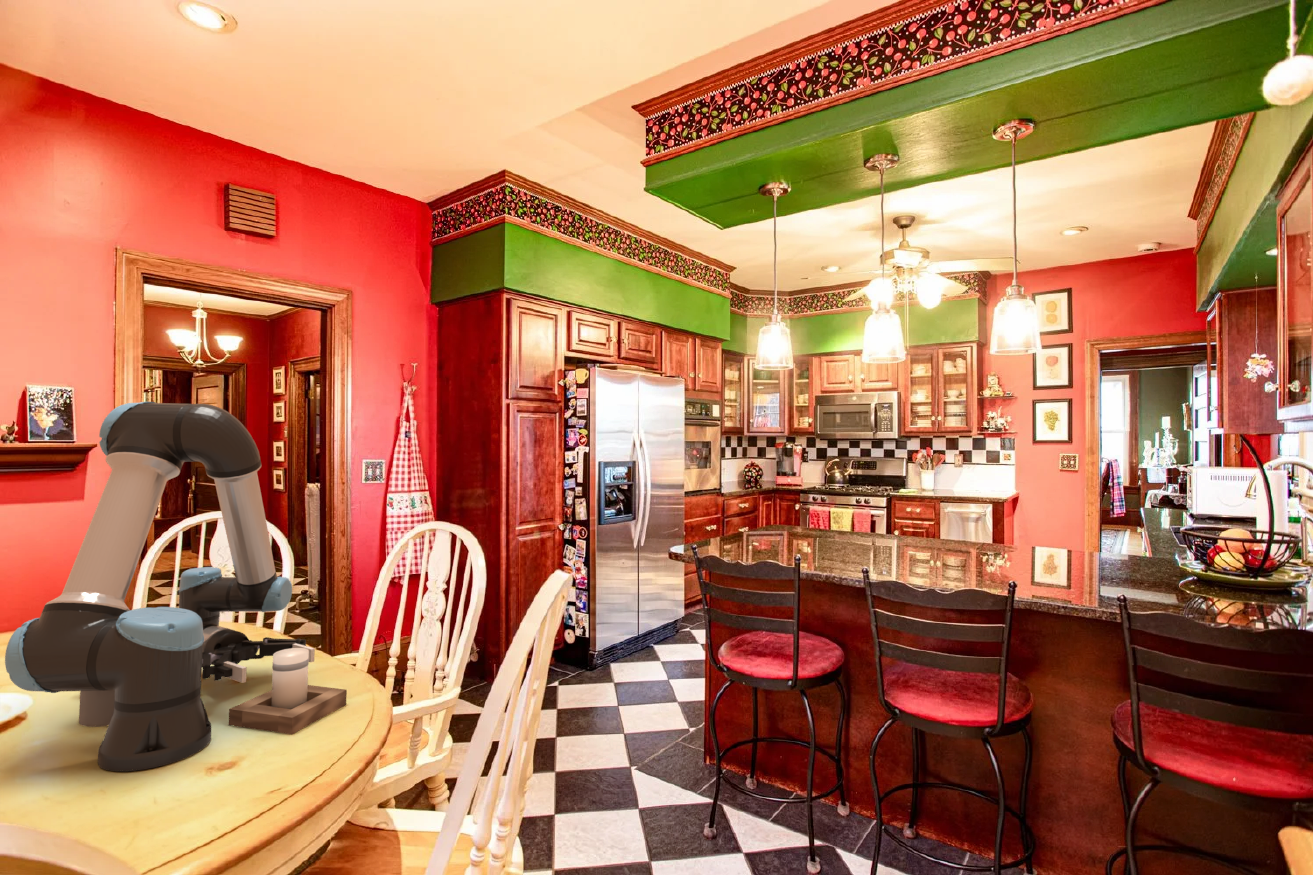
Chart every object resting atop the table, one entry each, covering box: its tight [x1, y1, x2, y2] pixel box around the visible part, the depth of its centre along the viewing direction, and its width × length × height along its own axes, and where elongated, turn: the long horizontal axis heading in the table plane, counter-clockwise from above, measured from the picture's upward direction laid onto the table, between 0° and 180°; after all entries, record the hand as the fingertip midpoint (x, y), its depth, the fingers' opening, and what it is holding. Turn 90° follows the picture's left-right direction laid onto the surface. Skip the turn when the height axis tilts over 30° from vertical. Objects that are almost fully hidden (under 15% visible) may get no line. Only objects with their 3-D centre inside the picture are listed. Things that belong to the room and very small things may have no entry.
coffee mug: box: [78, 690, 115, 728], centre depth 122 cm, size 13×10×10 cm
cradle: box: [228, 684, 348, 735], centre depth 123 cm, size 14×14×3 cm
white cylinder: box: [271, 648, 310, 709], centre depth 123 cm, size 6×6×12 cm
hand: (280, 664), depth 126 cm, fingers open, 13 cm apart
